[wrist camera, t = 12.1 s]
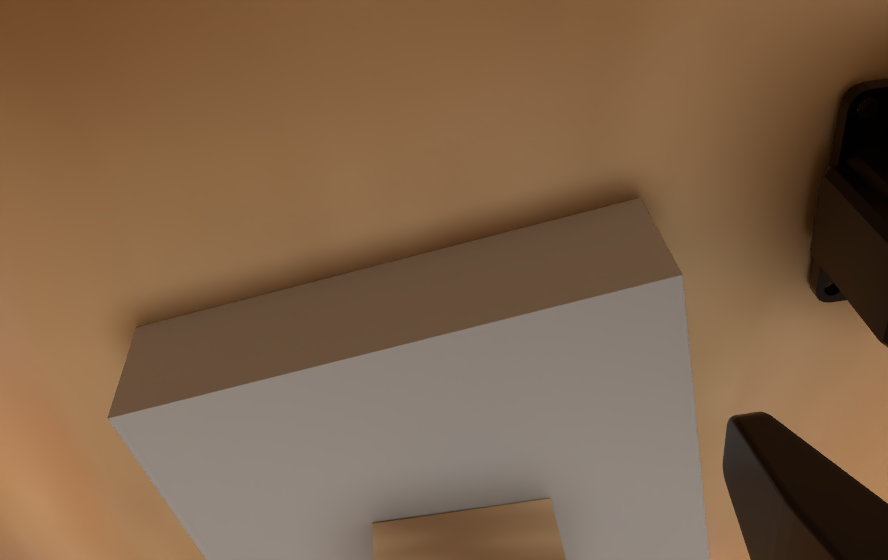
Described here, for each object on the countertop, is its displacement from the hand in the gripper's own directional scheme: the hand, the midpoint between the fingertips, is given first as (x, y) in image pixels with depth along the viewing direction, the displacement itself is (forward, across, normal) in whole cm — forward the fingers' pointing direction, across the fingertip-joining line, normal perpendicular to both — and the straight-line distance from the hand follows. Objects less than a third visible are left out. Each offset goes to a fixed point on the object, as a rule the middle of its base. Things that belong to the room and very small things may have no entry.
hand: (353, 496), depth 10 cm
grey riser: (+13, -1, +14) cm, 19 cm away
